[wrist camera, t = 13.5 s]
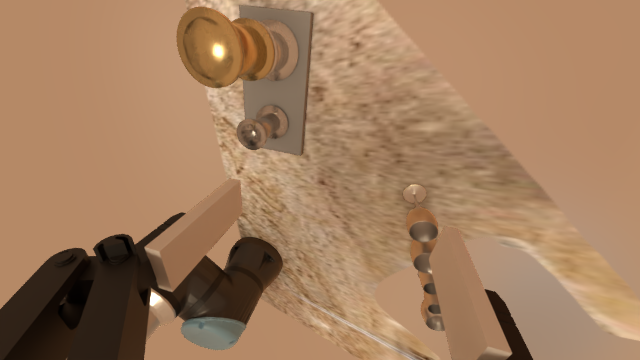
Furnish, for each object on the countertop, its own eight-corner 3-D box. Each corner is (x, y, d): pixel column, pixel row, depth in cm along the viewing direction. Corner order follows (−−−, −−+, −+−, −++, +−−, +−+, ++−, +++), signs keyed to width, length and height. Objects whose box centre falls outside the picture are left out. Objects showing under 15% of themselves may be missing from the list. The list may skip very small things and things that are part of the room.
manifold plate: (302, 153, 49) (300, 155, 48) (249, 142, 51) (246, 145, 49) (313, 13, 37) (310, 12, 36) (244, 6, 39) (239, 5, 38)
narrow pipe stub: (288, 140, 47) (269, 157, 39) (258, 134, 48) (234, 149, 40) (289, 107, 44) (269, 118, 36) (257, 102, 45) (231, 112, 37)
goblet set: (397, 186, 48) (402, 227, 36) (428, 181, 46) (443, 223, 34) (417, 282, 58) (425, 338, 47) (442, 282, 56) (457, 340, 45)
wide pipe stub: (297, 83, 41) (280, 89, 34) (250, 76, 43) (224, 81, 36) (300, 22, 37) (282, 15, 30) (248, 17, 38) (218, 8, 31)
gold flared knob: (274, 83, 34) (242, 92, 26) (227, 76, 35) (183, 83, 28) (275, 21, 30) (237, 10, 23) (222, 16, 32) (170, 3, 24)
